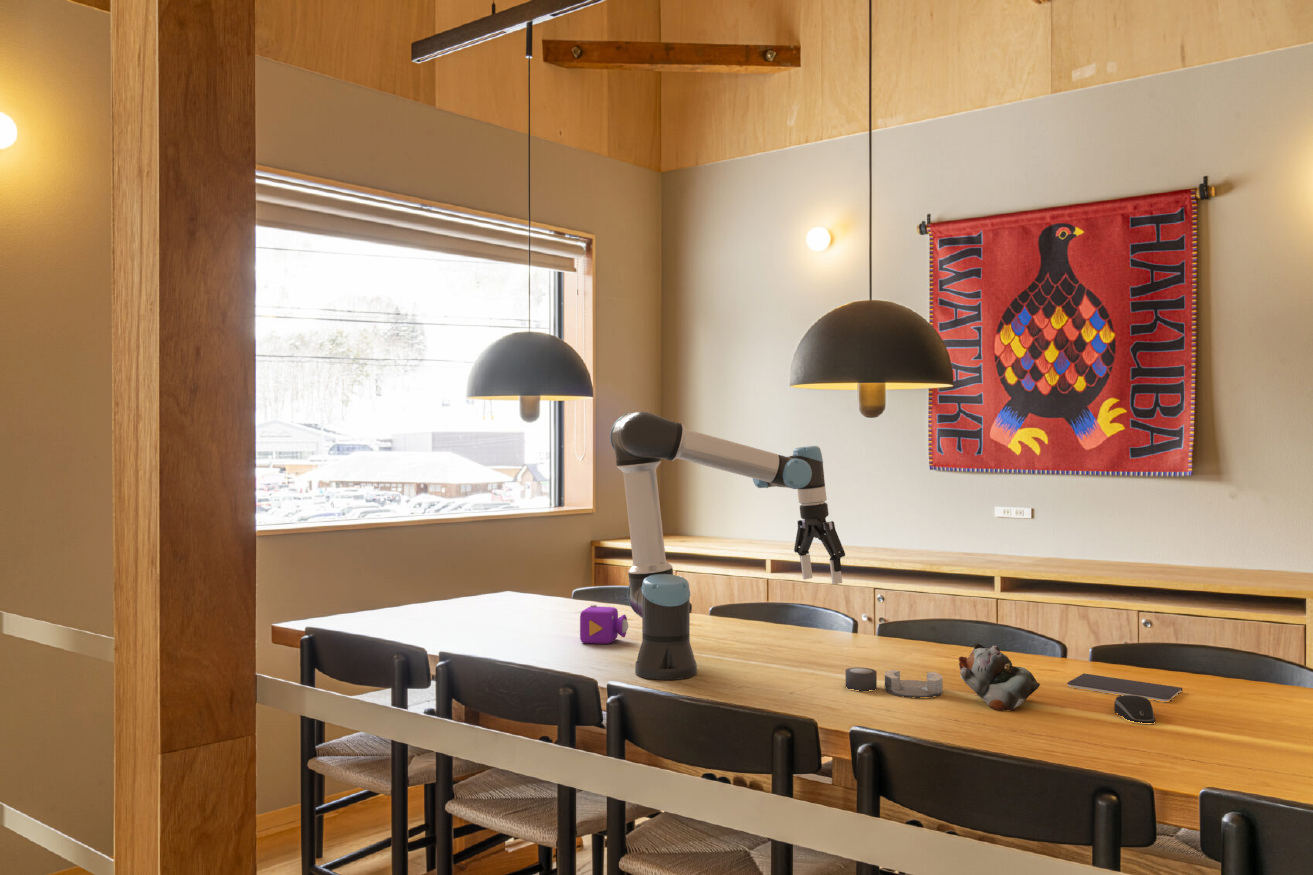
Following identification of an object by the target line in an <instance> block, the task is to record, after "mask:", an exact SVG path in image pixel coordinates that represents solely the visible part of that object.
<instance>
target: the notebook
mask: <svg viewBox="0 0 1313 875" xmlns="http://www.w3.org/2000/svg"><path fill="white" fill-rule="evenodd" d="M1066 684H1067V685H1068V686H1069V687H1074V688H1078V689H1077V690H1079V689H1087V690H1092V691H1098V692H1103V693H1102V694H1104V693H1113V694H1119V695H1134V696H1141V697H1144V698H1147V699H1155V700H1160V701H1164V702H1165V701H1169V700H1170V699H1172V698H1173V697H1174V696H1176V695H1177V694H1178V693H1180V692H1181V691H1182V692H1183V687H1179V686H1174V685H1173V686H1172V685H1166V684H1158V683H1151V682H1146V681H1145V682H1144V681H1137V680H1132V679H1124V678H1117V677H1112V676H1111V677H1110V676H1104V675H1099V674H1090V673H1082V674H1080V675H1078V676H1077V677H1075V678H1072V679H1071V680H1069V681H1067V683H1066ZM1068 686H1067V687H1068ZM1069 687H1068V688H1069ZM1092 691H1091V692H1092ZM1098 692H1097V693H1098ZM1182 692H1181V693H1182ZM1181 693H1180V694H1181ZM1177 696H1178V695H1177ZM1177 696H1176V697H1177ZM1172 700H1173V699H1172Z"/></svg>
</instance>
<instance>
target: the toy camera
mask: <svg viewBox="0 0 1313 875" xmlns="http://www.w3.org/2000/svg"><path fill="white" fill-rule="evenodd" d="M628 629H629V622H628V618H627V615H626V614H622V615H621V616H619V611H618V608H616V607H614V606H613V607H612V606H597V604H590V606H589V607H587V608H585V609H583V610H581V612H580V616H579V639H580V642H581V643H584V644H595V645H597V644H598V645H609V644H611V643H613V642H614V641H615V640H616V639H617V638H618V635H619V636H621V637H622V638H625V637H626V635H627V632H628Z"/></svg>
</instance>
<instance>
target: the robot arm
mask: <svg viewBox="0 0 1313 875" xmlns="http://www.w3.org/2000/svg"><path fill="white" fill-rule="evenodd" d="M609 435H610V436H609V437H610V444H611V447H612V448H613V450H614V453H615V464H616V468H618V470H620V471H621V472H622V474H623V482H624V490H625V491H624V492H625V501H626V510H627V512H626V513H627V518H628V519H627V520H628V528H629V529H628V531H629V537H630V547H631V555H632V556H631V557H632V566H631V567H630V568H628V571H627V574H628V582H629V584H628V589H627V601H628V604H629V606H630V608H631V609H632V610H633V612H634V613H635V614H636V615H637V616H639V617H640V618H641V619H642V627H641V628H642V630H641V632H642V636H641V637H642V641H641V645H640V648H639V651H638V655H637V658H636V661H635V665H634V667H635V670H634V671H635V672H634V674H636V676H639V677H641V678H645V679H650V680H659V681H660V680H661V681H662V680H664V681H665V680H666V681H669V680H670V681H672V680H681V679H689V678H692V677H694V676H696V675H697V673H698V669H697V666H698V664H697V662H696V659H695V656H694V652H693V648H692V644H691V642H690V640H691V638H690V630H691V629H690V620H691V619H690V618H691V617H690V616H691V615H690V606H691V604H690V603H691V602H690V601H691V599H690V598H691V590H690V583H689V581H688V580H687V579H686V578H685V577H683V576H680V575H676V574H674V569H673V565H672V564H671V563H669V561H667V558H666V549H665V541H664V533H663V532H664V531H663V522H662V514H661V513H662V512H661V506H660V505H661V504H660V503H661V502H660V496H659V485H658V484H659V483H658V475H657V468H658V467H659V466H660V464H662V460H666V461H671V462H674V461H676V460H677V459H678V460H683V461H687V462H690V463H694V464H696V465H697V464H698V465H702V466H706V467H709V468H713V469H717V470H720V471H725V472H728V473H732V474H736V475H739V476H743V477H747V478H751V479H752V482H753V484H754V486H755V487H756V488H758V489H769V488H775V487H777V488H787V489H792V490H797V497H798V503H799V504H800V505H799V514H800V518H801V519H800V520H797V532H796V536H795V537H796V538H795V543H794V548H793V552H794V553H797V554H798V556H799V559H800V566H801V574H802V580H809V579H812V578H813V571H812V563H811V562H812V561H811V555H810V551H809V550H810V548H811V545H812V543H813V541H814V538H815V539H818V540H819V541H821V543H822V545H823V547H824V548H825V550H826V552H827V553H828V555H829V557H830V558H829V567H830V576H831V584H832V585H837V584H842V583H843V578H842V564H841V563H842V562H841V559H842V558H843V557H845V556H846V553H845V549H844V546H843V545H842V542H841V540H840V537H839V535H838V533H837V531H836V530H837V529H836V525H835V522H834V521H833V520H832V521H827V520H826V518H827V517H828V516H829V515H830V514H829V508H828V507H829V505H828V504H829V503H827V491H826V483H825V472H824V471H825V470H824V459H823V455H822V450H821V448H820V447H819V446H818V445H808V446H801V447H795V448H793V449H792V450H793V451H792V452H793V453H792V455H788V456H785V455H781V454H777V453H775V452H771V451H767V450H764V449H759V448H755V447H753V446H749V445H745V444H741V443H738V442H734V441H730V440H727V439H724V438H719V437H716V436H712V435H708V434H705V433H701V432H698V431H693V430H690V429H687V428H685V426H684V424H683V423H680V422H676V421H673V420H670V419H669V418H665V417H662V416H661V415H660V416H659V415H657V414H655V413H652V412H648V411H644V410H643V411H636V412H629V413H625V414H624V415H622V416H620V417H619V418H618V419H616V421H615V422H614V423H613V425H612V427H611V430H610V434H609Z"/></svg>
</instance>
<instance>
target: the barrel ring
mask: <svg viewBox="0 0 1313 875" xmlns="http://www.w3.org/2000/svg"><path fill="white" fill-rule="evenodd" d="M885 690H886V691H885ZM884 691H885V692H886V693H887V694H890V695H893V696H898V697H901V696H904V697H903V698H907V697H911V698H910V699H913V698H912V697H915V698H914V699H921V698H920V697H933V696H938V697H940V696H942V695H943V675H942V674H940V673H938V672H935V671H932V672H931V671H930V672H926V681H924V680H920V679H919V680H917V679H901V671H900V670H896V669H889V670H886V671H884ZM941 694H942V695H941ZM933 698H934V697H933Z"/></svg>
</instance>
